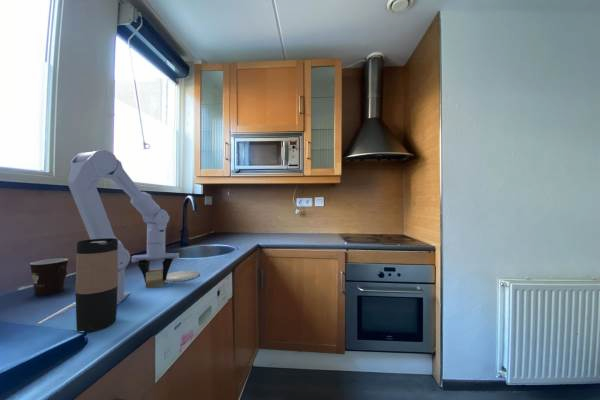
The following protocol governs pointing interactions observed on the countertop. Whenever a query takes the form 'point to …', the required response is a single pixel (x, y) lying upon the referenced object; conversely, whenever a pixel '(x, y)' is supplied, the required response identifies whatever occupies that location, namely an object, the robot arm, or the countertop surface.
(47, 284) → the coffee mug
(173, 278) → the saucer
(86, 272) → the travel mug
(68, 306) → the fork
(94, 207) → the robot arm
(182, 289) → the countertop surface
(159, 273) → the beech cube
